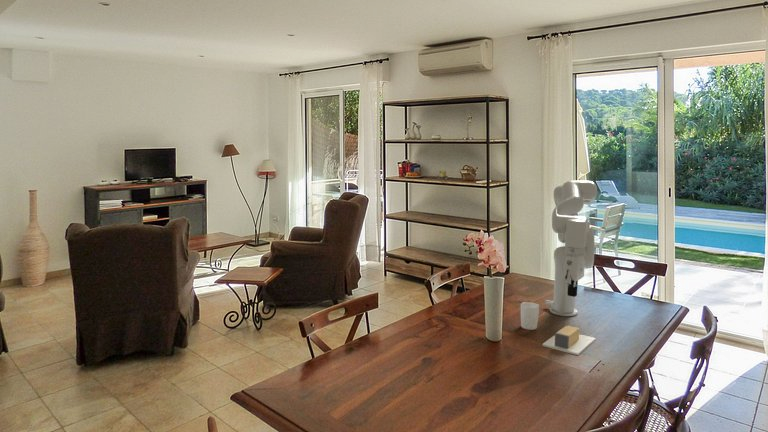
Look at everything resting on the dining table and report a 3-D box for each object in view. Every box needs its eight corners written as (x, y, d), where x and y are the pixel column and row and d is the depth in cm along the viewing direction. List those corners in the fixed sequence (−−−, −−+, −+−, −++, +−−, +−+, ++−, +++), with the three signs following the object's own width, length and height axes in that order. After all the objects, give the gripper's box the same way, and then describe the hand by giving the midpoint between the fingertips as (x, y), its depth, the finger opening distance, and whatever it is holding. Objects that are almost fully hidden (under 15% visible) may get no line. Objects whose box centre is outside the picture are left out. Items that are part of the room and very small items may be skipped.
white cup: (536, 324, 227) (537, 302, 225) (540, 330, 219) (541, 308, 217) (518, 323, 227) (519, 301, 226) (521, 330, 220) (522, 307, 218)
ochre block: (566, 336, 210) (554, 345, 201) (567, 325, 209) (555, 333, 200) (578, 339, 207) (567, 348, 198) (579, 328, 206) (567, 336, 197)
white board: (542, 345, 203) (542, 343, 203) (561, 331, 218) (562, 329, 218) (577, 355, 194) (578, 353, 194) (595, 339, 209) (595, 338, 209)
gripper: (577, 255, 192) (574, 302, 195) (591, 248, 203) (588, 293, 207) (557, 252, 197) (555, 298, 200) (572, 246, 208) (569, 289, 211)
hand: (572, 295), depth 203 cm, fingers closed
